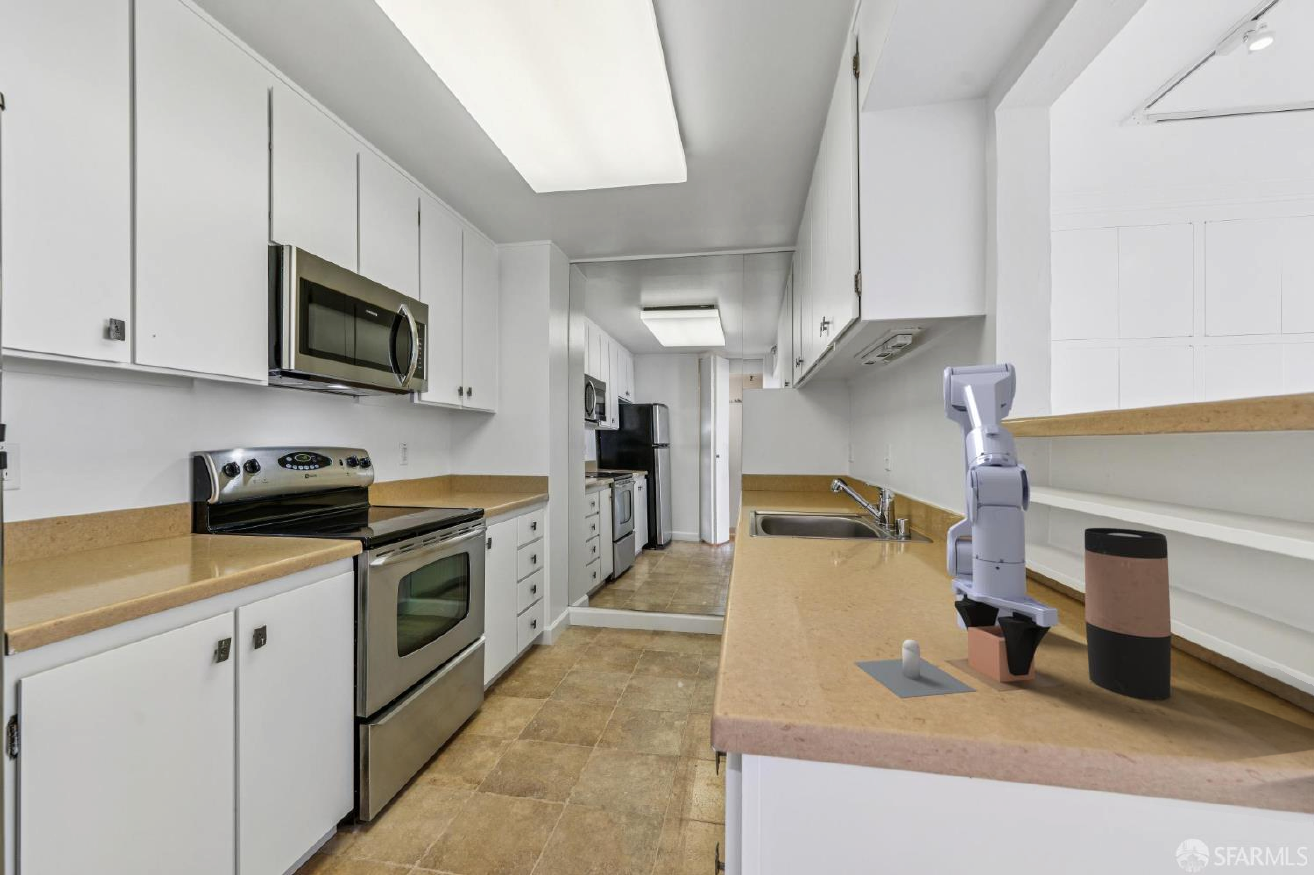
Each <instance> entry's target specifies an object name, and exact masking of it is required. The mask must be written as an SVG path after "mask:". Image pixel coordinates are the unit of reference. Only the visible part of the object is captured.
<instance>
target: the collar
mask: <svg viewBox="0 0 1314 875" xmlns="http://www.w3.org/2000/svg"><path fill="white" fill-rule="evenodd" d="M992 634H1000V635H1003V632H1002V629H1001V627H1000V625H997V626H982V627H968V631H967V639H968V640H967V647H968V648H967V649H968V650H967V651H968V652H967V653H968V659H969V666H971V667H972V668H974V669H976V670H978V671H980V672H982V673H984V674H985V675H987V676H989V677H991V678H993V679H995V680H997V681H999V682H1007V681H1018V680H1029V679H1035V672H1036V671H1035V669H1036V668H1035V666H1036V665H1035V656H1034V657H1033V660H1032V663H1031V667H1030V670H1029V674H1028V675H1021V676H1014V675H1012V674H1010V671H1009V667H1008V661H1007V649H1006V643H1005V639H1004V637H1002V638H999V637H996V636H994V635H992Z"/></svg>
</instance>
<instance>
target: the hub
mask: <svg viewBox="0 0 1314 875" xmlns="http://www.w3.org/2000/svg"><path fill="white" fill-rule="evenodd" d="M901 649H902V651H901V652H902V655H901V656H902V658H899V659H898V658H895V659H885V660H884V659H883V660H871V661H857V662H853V664H854V665H856V667H858V668H859V669H861V670H862V671H863V672H864V673H867V675H869V676H870V677H872V678H873V679H875V680H876V682H879V683H880V684H881V685H882V686H883V687H884V688H886V689H888V690H889V691H891V692H892V693H893V694H894V695H895V696H897V697H898V698H900V699H906V698H907V699H908V698H916V697H918V698H919V697H928V696H929V697H930V696H937V695H949V694H950V695H951V694H960V693H970V692H972V693H973V692H977V691H978V690H977V689H975V688H973V687H972V686H970V685H968V684H966V683H965V682H963V681H962V680H959V679H958V678H956V677H954V676H953V675H951V674H950V673H948V672H946V671H945V670H943V669H942V668H941V669H940V668H939V667H937V666H936V665H934V664H932V663H930V662H929V661H927V660H925V659H924V658H922V657H921V648H920V645H919V643H918V642H917V640H916V641H915V640H914V639H906V640H904V641H903V643H902V646H901Z"/></svg>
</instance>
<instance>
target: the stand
mask: <svg viewBox="0 0 1314 875" xmlns="http://www.w3.org/2000/svg"><path fill="white" fill-rule="evenodd" d="M992 635H994V636H996V637H999V638H1002V637H1004V635H1000V634H992ZM944 662H946V663H947V664H950V666H953V667H955V668H957V669H959V670H960V671H962V672H963V673H965V674H967V675H969V676H970V677H972V678H974V679H976V680H978V681H979V682H982V683H983V684H985V685H986V686H989V687H990V688H992V689H994V690H996V691H997V692H1005V691H1016V690H1017V691H1018V690H1027V689H1037V688H1038V689H1039V688H1049V687H1060V686H1064V684H1062V683H1060V682H1059V681H1056V680H1054V679H1052V678H1050V677H1047V676H1045V675H1044V674H1041V673H1039V672H1037V671H1035V679H1029V680H1018V681H1007V682H999V681H997V680H995V679H993V678H991V677H989V676H987V675H985V674H984V673H982V672H980V671H978V670H976V669H974V668H972V667H971V666H969V658H960V659H946V660H944Z"/></svg>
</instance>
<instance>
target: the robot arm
mask: <svg viewBox="0 0 1314 875" xmlns="http://www.w3.org/2000/svg"><path fill="white" fill-rule="evenodd" d="M1016 373H1017V372H1016V369H1015V366H1014V365H1013V364H1012V363H1011V362H1005V363H999V364H985V365H983V364H982V365H971V366H969V365H968V366H954V367H953V366H947V367H946V368H945V369H944V370H943V382H942V383H943V384H942V385H943V386H942V387H943V388H942V389H943V390H942V392H943V402H944V403H943V404H944V406H943V407H944V412H945V413H946V418H947V419H949V420H951V421H954V422H955V423H957V424H958V428H959V431H960V433H961V437H962V438H961V440H962V445H961V446H962V464H963V465H962V467H963V470H962V471H963V489H964V490H963V494H964V495H963V496H964V497H963V498H964V515H965V516H964V519H962V520H960V521H958V522H957V523H955V524H953V525H951V526H950V527H949V529H948V531H947V533H946V535H947V536H946V537H947V538H946V568H947V573H948V574H949V575H950V576H951V577H955V578H954V579H951V583H950V584H951V593H952V594H953V595H956V600H955V601H954V607H955V609H956V610H957V614H956V616H957V618H956V619H957V620H956V621H957V626H958V627H959V628H960V629H962V630H964V631H966V632H968V627H982V626H997V625H1000V627H1001V629H1002V632H1003V635H1004V639H1005V643H1006V649H1007V661H1008V667H1009V671H1010V674H1012V675H1014V676H1021V675H1028V674H1029V670H1030V667H1031V663H1032V660H1033V657H1034V658H1035V654H1036V651H1037V649H1038V647H1039V645H1040V644H1041V642H1042V640H1043V639H1044V638H1045V635H1046V634H1047V633H1048V631H1049V630H1050V629H1051V628H1052V627H1059V611H1058V609H1057V608H1054V607H1052V606H1049V605H1047V604H1044V603H1043V602H1041V601H1039V600H1037V599H1035V598H1034V597H1031V596H1029V595H1027V581H1026V580H1027V578H1026V577H1027V576H1026V574H1027V573H1026V571H1027V570H1026V534H1025V533H1026V525H1025V512H1027V511H1028V509H1029V505H1030V500H1031V482H1030V478H1029V472H1028V470H1027V466H1025V465H1024V463H1023V461H1022V460H1019V458H1018V453H1017V448H1016V443H1015V442H1016V441H1015V439H1014V434H1013V433H1012V432H1011V430H1009V429H1008V428H1007V427H1005V426H1003V424H1002V420H1003V419H1004V418H1007V417H1009V416H1010V411H1011V410H1012V406H1013V401H1014V399H1015V396H1016V392H1017V374H1016ZM1022 508H1023V510H1024V511H1025V512H1024V511H1023V510H1021V509H1022ZM970 538H971V539H970Z"/></svg>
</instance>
